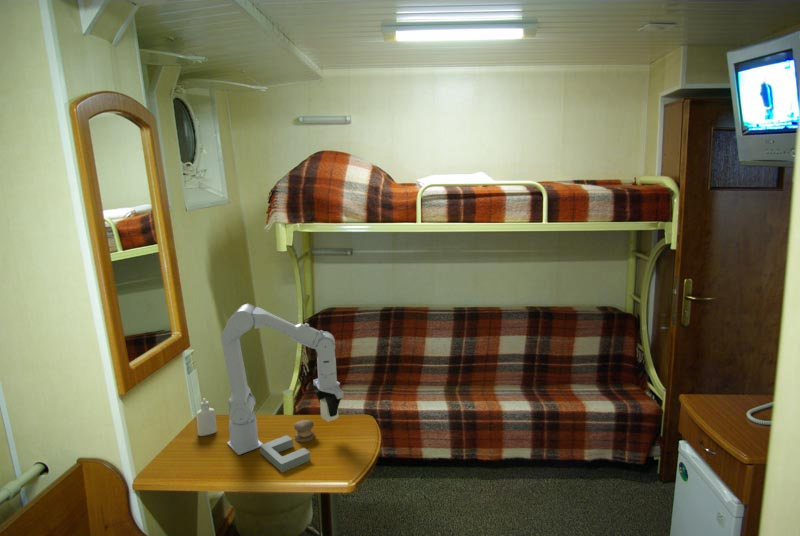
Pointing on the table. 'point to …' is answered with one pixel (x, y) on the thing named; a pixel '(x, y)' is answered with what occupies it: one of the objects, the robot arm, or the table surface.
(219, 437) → the table surface
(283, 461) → the notched board
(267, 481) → the table surface
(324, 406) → the block
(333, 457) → the table surface
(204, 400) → the eye dropper bottle
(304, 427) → the brown knob
